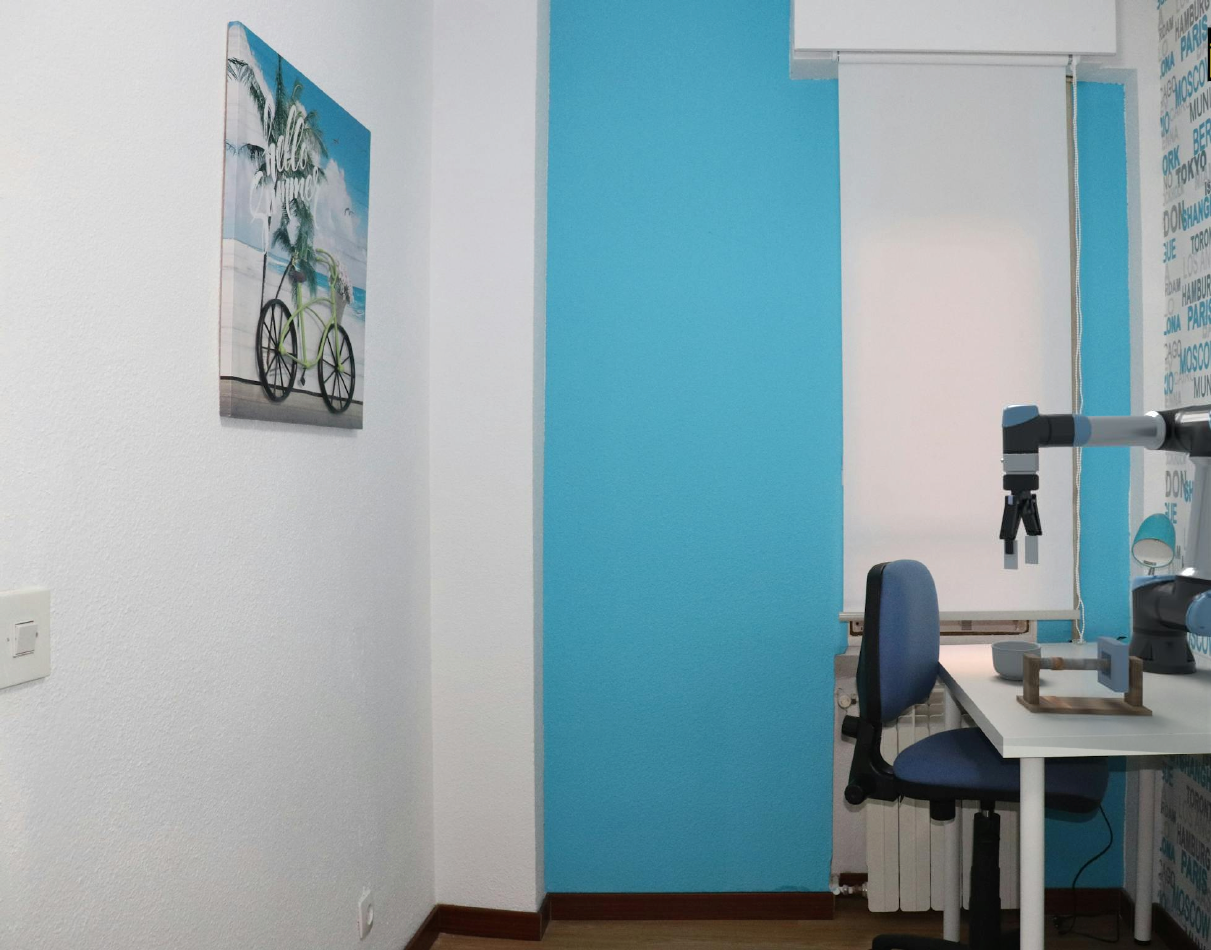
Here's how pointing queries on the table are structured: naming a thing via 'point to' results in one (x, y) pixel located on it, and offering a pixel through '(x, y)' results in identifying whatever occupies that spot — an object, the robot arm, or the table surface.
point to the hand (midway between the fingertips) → (1021, 566)
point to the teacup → (1012, 657)
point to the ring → (1114, 664)
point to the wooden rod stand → (1081, 705)
